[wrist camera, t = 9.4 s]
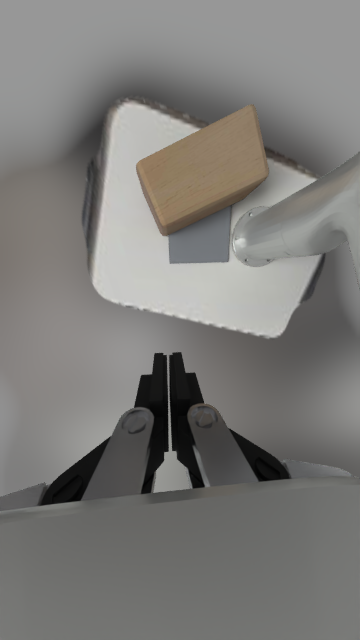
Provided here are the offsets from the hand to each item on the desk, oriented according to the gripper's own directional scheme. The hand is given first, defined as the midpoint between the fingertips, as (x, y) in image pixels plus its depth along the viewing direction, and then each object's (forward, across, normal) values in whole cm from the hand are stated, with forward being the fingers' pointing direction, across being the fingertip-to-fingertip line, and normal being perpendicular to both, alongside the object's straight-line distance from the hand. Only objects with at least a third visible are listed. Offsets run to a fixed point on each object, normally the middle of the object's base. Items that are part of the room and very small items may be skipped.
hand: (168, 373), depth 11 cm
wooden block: (+28, +3, -17) cm, 33 cm away
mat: (+33, -8, -16) cm, 37 cm away
